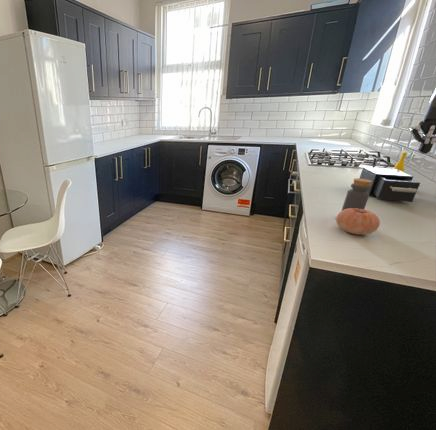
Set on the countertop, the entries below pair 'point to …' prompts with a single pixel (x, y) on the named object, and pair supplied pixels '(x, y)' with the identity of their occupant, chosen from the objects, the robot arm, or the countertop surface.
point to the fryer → (375, 172)
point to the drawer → (395, 188)
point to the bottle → (357, 194)
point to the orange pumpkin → (357, 221)
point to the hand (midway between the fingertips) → (423, 152)
